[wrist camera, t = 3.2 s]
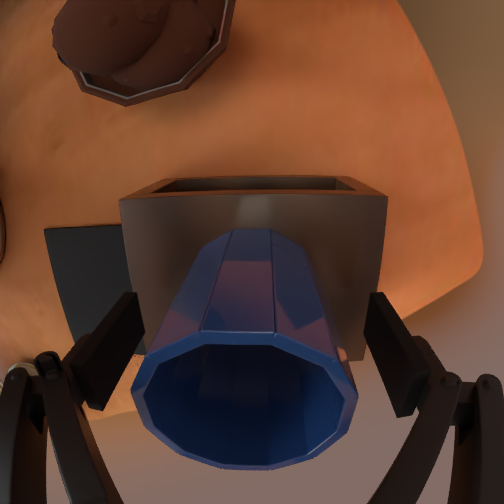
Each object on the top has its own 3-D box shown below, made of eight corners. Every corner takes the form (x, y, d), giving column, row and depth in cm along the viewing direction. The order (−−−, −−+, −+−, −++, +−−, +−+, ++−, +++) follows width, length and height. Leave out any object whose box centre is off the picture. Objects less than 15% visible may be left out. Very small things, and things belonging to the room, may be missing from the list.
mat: (77, 344, 33) (75, 346, 33) (45, 228, 28) (43, 229, 28) (172, 355, 33) (171, 357, 32) (151, 223, 27) (150, 224, 27)
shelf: (176, 301, 30) (148, 359, 22) (163, 179, 26) (118, 199, 17) (339, 301, 29) (363, 360, 21) (349, 176, 25) (388, 196, 17)
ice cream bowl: (258, 97, 23) (248, 44, 9) (131, 127, 24) (12, 130, 10) (236, -8, 20) (209, -117, 6) (117, 26, 21) (14, -31, 7)
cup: (196, 341, 21) (160, 462, 11) (183, 229, 18) (107, 324, 9) (312, 342, 20) (335, 467, 11) (321, 228, 18) (377, 327, 8)
